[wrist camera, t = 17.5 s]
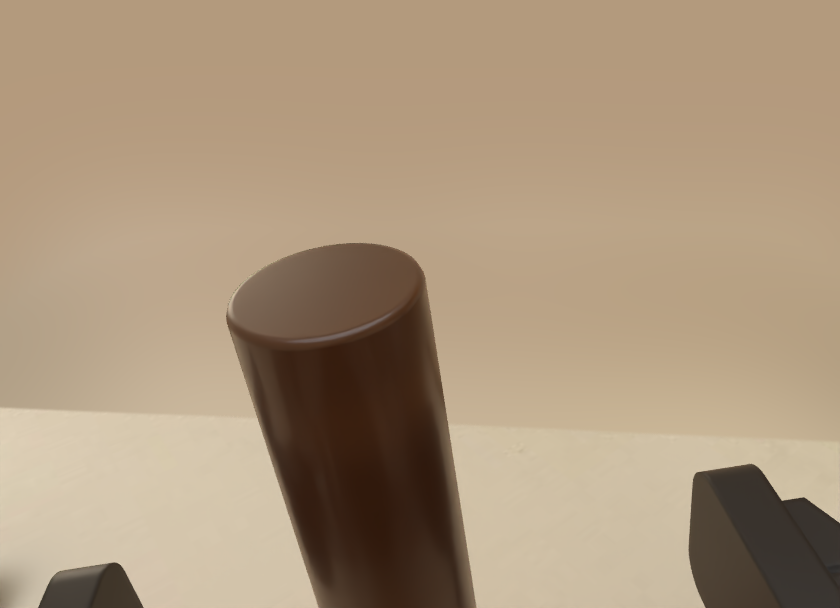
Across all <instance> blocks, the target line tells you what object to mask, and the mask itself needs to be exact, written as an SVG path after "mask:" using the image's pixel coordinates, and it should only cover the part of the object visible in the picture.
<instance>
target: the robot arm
mask: <svg viewBox="0 0 840 608" xmlns="http://www.w3.org/2000/svg"><path fill="white" fill-rule="evenodd" d="M689 558H690V565H691V569H692V574H693V577H694V581H695V584H696V587H697V589H698V592H699V594H700V597H701V599H702V601H703V603H704V605H705V607H706V608H840V523H839V522H837V521H836V520H835V519H833V518H832V517H830V516H829V515H828V514H826V513H825V512H824V511H822V510H821V509H819V508H818V507H817V506H815V505H814V504H813V503H811V502H810V501H808V500H807V499H806V498H804V497H803V498H797V499H791V500H784V501H782V500H781V499H780V497H779V496H778V495H777V493H776V492H775V490H774V489H773V487H772V486H771V484H770V483H769V481H768V480H767V478H766V477H765V475H764V474H763V473H762V471H761V470H760V469H759V468H758V467H757V466H755V465H753V464H748V465H741V466H735V467H729V468H722V469H716V470H710V471H703V472H697V473H696V474H695V476H694V479H693V488H692V503H691V519H690V534H689ZM38 608H143V606H142V604H141V602H140V600H139V598H138V596H137V594H136V592H135V590H134V588H133V586H132V584H131V582H130V580H129V579H128V577H127V575H126V573H125V571H124V569H123V568H122V567H121V565H119V564H118V563H108V564H102V565H95V566H89V567H83V568H76V569H70V570H64V571H60V572H58V573H56V574H55V575H54V576H53V577H52V579H51V580H50V582H49V584H48V586H47V588H46V591H45V593H44V595H43V598H42V600H41V602H40V605H39V607H38Z"/></svg>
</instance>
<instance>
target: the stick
mask: <svg viewBox="0 0 840 608" xmlns="http://www.w3.org/2000/svg"><path fill="white" fill-rule="evenodd" d="M226 317H227V324H228V328H229V331H230V334H231V337H232V340H233V343H234V346H235V349H236V353H237V355H238V359H239V361H240V365H241V368H242V371H243V374H244V377H245V380H246V384H247V387H248V390H249V392H250V396H251V399H252V402H253V405H254V408H255V411H256V415H257V418H258V421H259V424H260V427H261V430H262V433H263V436H264V439H265V442H266V446H267V449H268V452H269V455H270V458H271V461H272V464H273V467H274V470H275V473H276V477H277V480H278V483H279V486H280V489H281V492H282V495H283V498H284V501H285V504H286V508H287V511H288V514H289V517H290V520H291V523H292V526H293V529H294V532H295V535H296V539H297V542H298V545H299V548H300V551H301V554H302V557H303V560H304V563H305V566H306V570H307V573H308V576H309V579H310V582H311V585H312V588H313V591H314V594H315V597H316V601H317V604H318V607H319V608H476V602H475V595H474V589H473V582H472V576H471V569H470V563H469V557H468V550H467V544H466V537H465V531H464V524H463V518H462V511H461V505H460V498H459V492H458V486H457V479H456V473H455V466H454V460H453V453H452V447H451V440H450V434H449V427H448V421H447V415H446V408H445V402H444V396H443V389H442V382H441V376H440V369H439V363H438V357H437V350H436V344H435V337H434V331H433V324H432V318H431V311H430V305H429V299H428V292H427V286H426V280H425V275H424V273H423V271H422V269H421V267H420V266H419V265H418V263H417V262H416V261H415V260H414V259H413V258H412V257H411V256H409V255H408V254H406V253H405V252H402V251H400V250H398V249H395V248H392V247H388V246H383V245H377V244H367V243H347V244H336V245H329V246H323V247H318V248H313V249H309V250H306V251H302V252H299V253H296V254H293V255H290V256H287V257H285V258H282V259H280V260H277V261H275V262H273V263H271V264H269V265H267V266H266V267H263V268H262V269H261V270H259V271H257V272H256V273H254V274H253V275H251V276H250V277H249V278H247V279H246V280H245V281H244V282H243V283H242V284H241V285H240V286H239V287H238V288H237V289H236V290H235V292H234V293H233V295H232V296H231V298H230V301H229V303H228V308H227V315H226Z"/></svg>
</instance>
